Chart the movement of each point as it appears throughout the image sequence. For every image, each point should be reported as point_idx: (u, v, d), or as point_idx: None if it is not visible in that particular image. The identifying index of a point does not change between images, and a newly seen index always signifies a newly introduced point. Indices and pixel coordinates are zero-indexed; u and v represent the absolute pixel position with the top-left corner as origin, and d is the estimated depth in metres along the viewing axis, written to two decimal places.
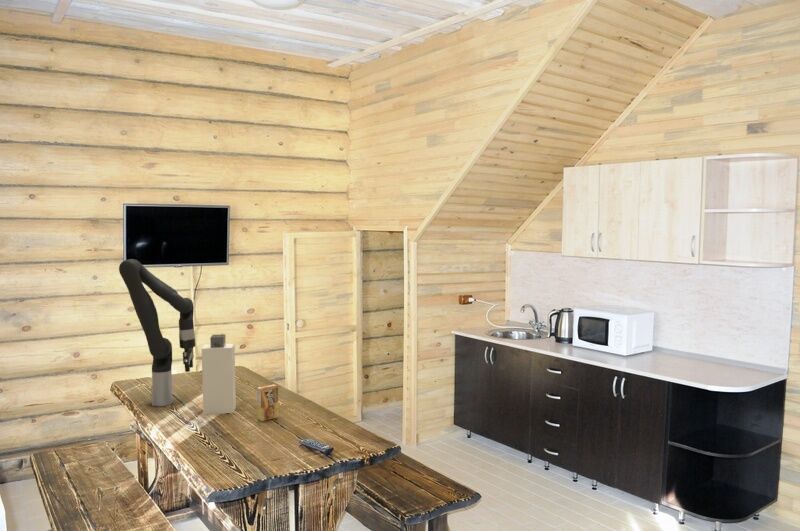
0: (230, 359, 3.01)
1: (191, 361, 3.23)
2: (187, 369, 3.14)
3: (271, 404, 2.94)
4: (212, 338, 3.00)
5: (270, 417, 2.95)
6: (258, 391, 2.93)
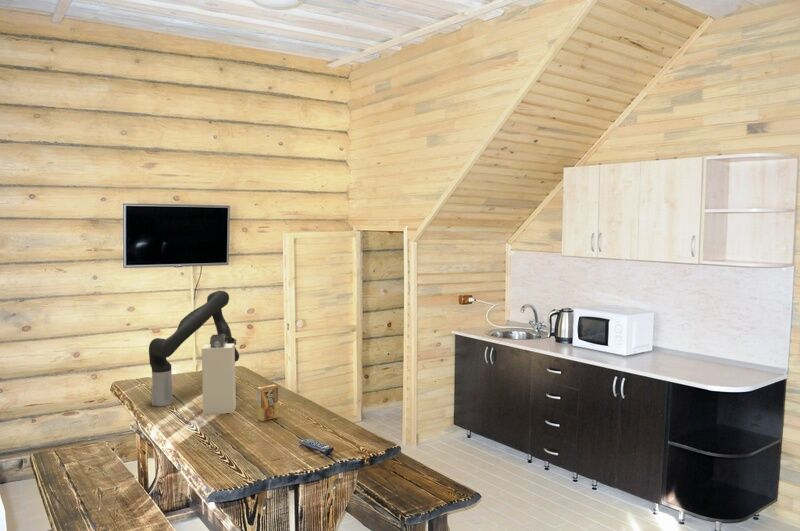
0: (230, 359, 3.01)
1: None
2: (226, 337, 3.14)
3: (271, 404, 2.94)
4: (212, 338, 3.00)
5: (270, 417, 2.95)
6: (258, 391, 2.93)
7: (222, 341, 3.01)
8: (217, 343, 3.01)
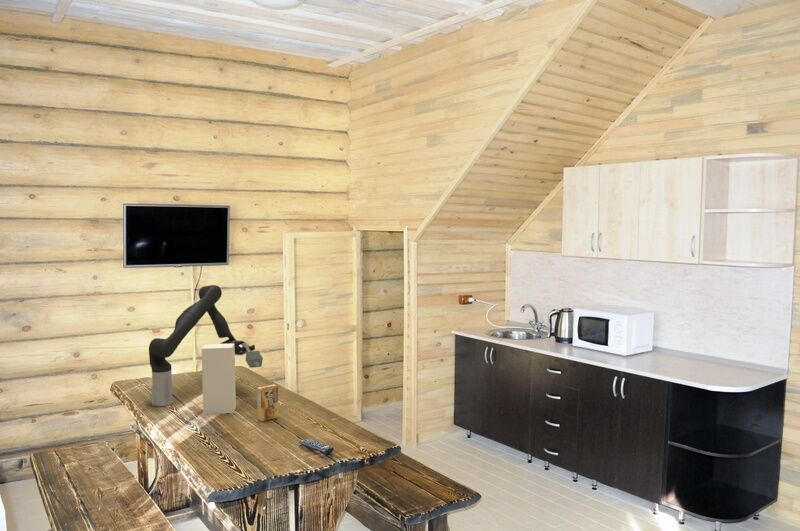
0: (230, 359, 3.01)
1: None
2: None
3: (271, 404, 2.94)
4: (252, 359, 3.13)
5: (270, 417, 2.95)
6: (258, 391, 2.93)
7: (261, 361, 3.16)
8: (256, 363, 3.15)
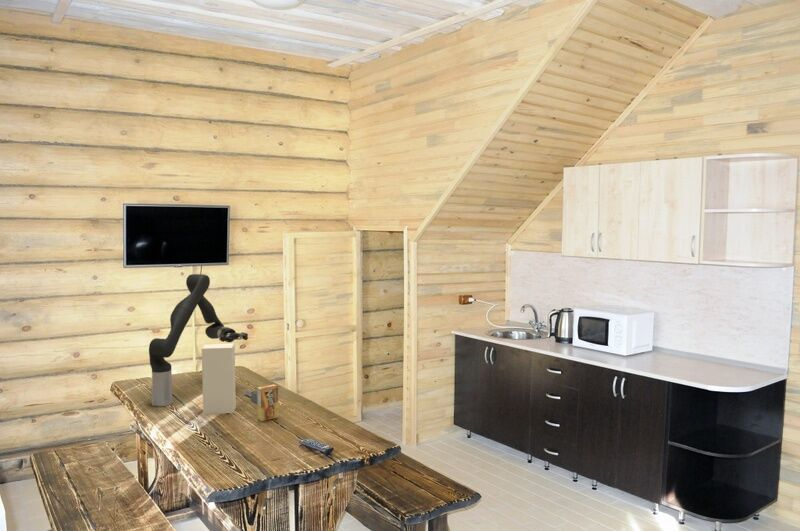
0: (230, 359, 3.01)
1: None
2: None
3: (271, 404, 2.94)
4: None
5: (270, 417, 2.95)
6: (258, 391, 2.93)
7: None
8: None
